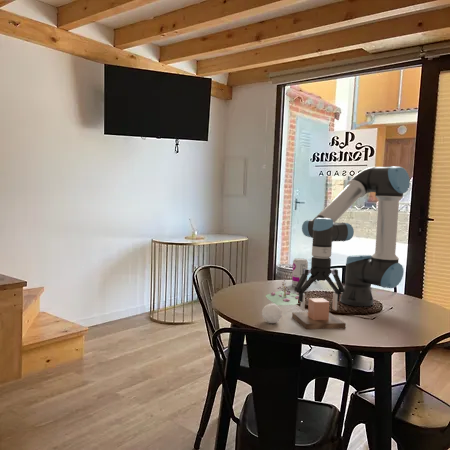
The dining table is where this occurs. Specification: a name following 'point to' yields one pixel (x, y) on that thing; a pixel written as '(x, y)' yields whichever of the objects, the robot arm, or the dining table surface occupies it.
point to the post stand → (318, 321)
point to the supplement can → (298, 270)
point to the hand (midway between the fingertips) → (318, 309)
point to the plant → (283, 297)
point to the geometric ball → (271, 313)
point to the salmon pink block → (318, 309)
